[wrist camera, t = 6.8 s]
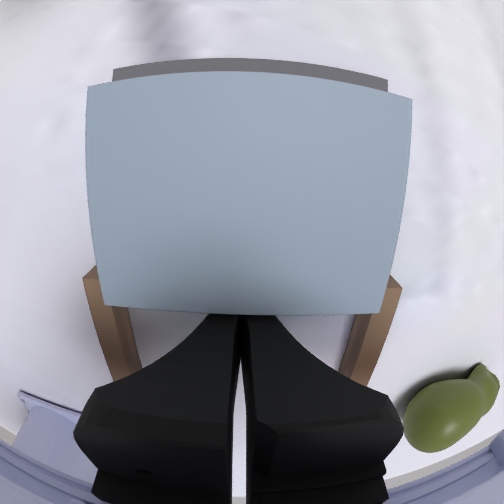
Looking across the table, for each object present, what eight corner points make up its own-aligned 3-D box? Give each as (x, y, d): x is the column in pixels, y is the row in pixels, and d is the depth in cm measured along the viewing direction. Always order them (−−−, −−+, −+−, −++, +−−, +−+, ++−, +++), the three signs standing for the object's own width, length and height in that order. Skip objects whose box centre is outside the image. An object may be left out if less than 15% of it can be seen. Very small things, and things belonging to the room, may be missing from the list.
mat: (368, 262, 12) (368, 263, 12) (118, 254, 11) (117, 255, 11) (386, 80, 9) (387, 79, 9) (114, 69, 8) (113, 69, 8)
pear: (452, 433, 10) (522, 377, 12) (409, 377, 15) (485, 343, 16) (411, 475, 12) (488, 423, 14) (380, 426, 17) (459, 389, 18)
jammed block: (340, 259, 11) (379, 313, 8) (145, 253, 11) (104, 304, 7) (356, 111, 9) (412, 99, 5) (141, 103, 9) (87, 86, 5)
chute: (342, 408, 16) (347, 425, 14) (136, 403, 15) (130, 420, 14) (388, 272, 12) (402, 287, 11) (97, 263, 12) (82, 277, 10)
